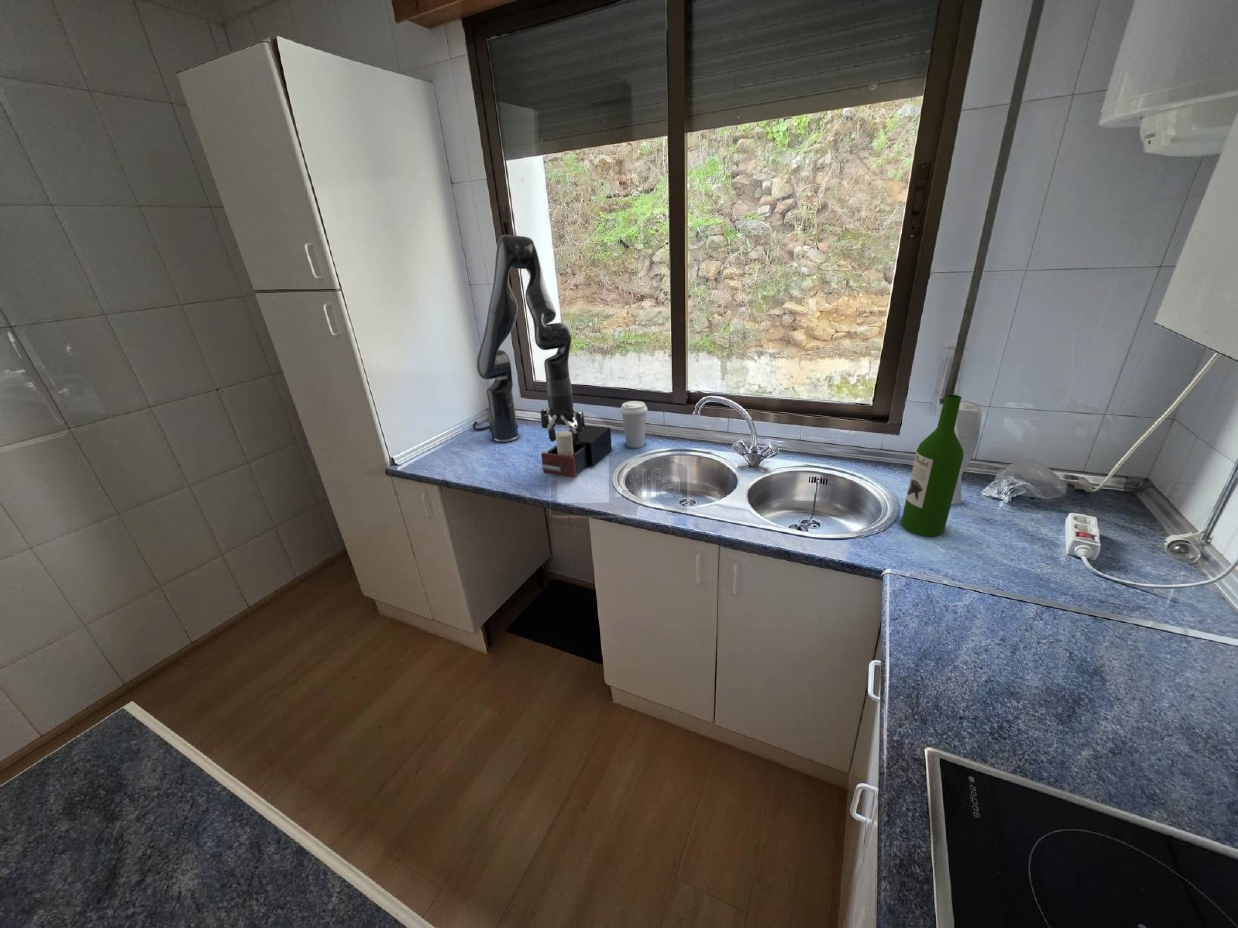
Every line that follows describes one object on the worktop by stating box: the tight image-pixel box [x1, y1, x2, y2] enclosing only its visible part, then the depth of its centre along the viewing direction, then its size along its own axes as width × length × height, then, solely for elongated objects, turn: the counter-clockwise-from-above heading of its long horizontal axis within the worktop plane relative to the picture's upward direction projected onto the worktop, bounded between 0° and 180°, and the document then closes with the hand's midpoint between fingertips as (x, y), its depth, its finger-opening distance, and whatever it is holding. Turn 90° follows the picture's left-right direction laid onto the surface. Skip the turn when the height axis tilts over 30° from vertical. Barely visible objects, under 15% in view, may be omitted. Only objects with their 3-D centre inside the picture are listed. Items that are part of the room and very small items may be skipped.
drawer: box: [540, 443, 590, 479], centre depth 154 cm, size 18×11×7 cm, turn 155°
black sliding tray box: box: [568, 424, 613, 468], centre depth 165 cm, size 15×13×9 cm
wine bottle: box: [900, 394, 963, 538], centre depth 110 cm, size 9×9×32 cm
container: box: [555, 430, 574, 456], centre depth 154 cm, size 5×5×11 cm
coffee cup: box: [619, 400, 648, 449], centre depth 172 cm, size 10×10×15 cm
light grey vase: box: [951, 398, 982, 506], centre depth 122 cm, size 8×8×28 cm
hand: (565, 442), depth 152 cm, fingers open, 8 cm apart
